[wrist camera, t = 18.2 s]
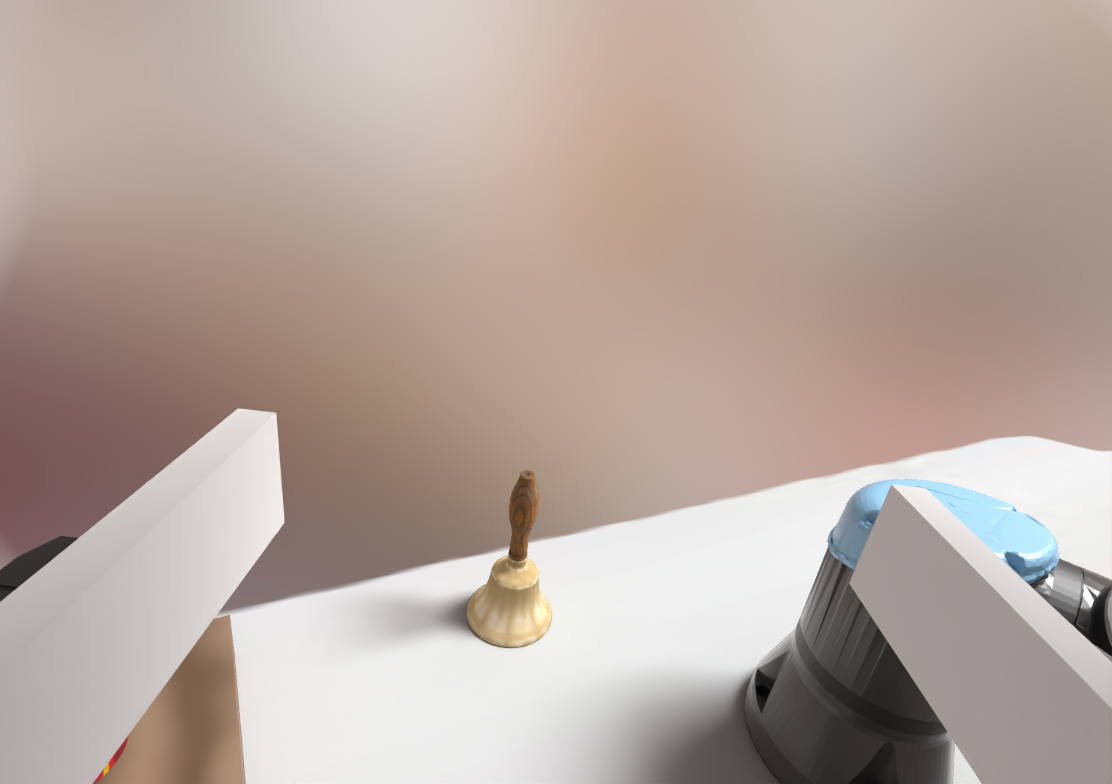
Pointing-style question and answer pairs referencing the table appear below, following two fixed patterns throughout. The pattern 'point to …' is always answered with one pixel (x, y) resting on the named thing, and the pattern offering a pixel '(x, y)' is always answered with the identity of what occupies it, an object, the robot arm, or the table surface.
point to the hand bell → (513, 582)
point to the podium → (190, 722)
